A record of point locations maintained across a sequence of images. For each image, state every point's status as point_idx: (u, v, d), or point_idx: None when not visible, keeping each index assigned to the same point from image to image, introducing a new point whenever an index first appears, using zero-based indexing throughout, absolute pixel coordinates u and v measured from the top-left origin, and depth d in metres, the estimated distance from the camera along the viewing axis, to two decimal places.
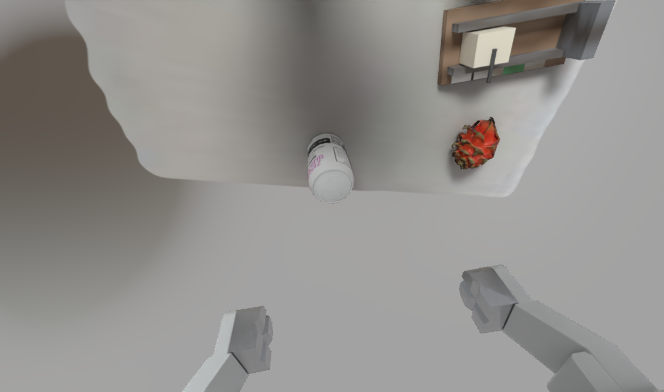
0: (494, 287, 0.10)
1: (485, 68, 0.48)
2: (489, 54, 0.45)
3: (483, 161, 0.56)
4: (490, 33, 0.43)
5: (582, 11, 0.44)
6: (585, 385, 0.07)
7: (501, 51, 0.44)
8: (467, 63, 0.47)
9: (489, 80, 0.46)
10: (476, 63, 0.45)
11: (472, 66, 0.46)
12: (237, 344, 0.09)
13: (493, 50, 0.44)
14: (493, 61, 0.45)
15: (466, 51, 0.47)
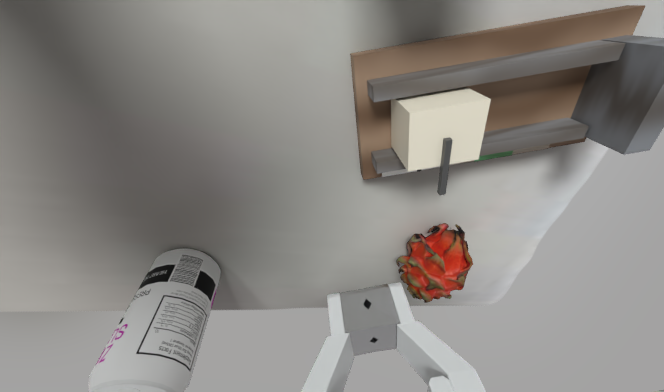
0: (383, 306, 0.10)
1: None
2: (439, 148, 0.21)
3: None
4: (435, 111, 0.20)
5: (632, 60, 0.21)
6: None
7: (462, 141, 0.21)
8: (400, 155, 0.24)
9: (442, 191, 0.23)
10: (413, 164, 0.22)
11: (406, 167, 0.23)
12: (352, 324, 0.09)
13: (445, 142, 0.21)
14: (447, 161, 0.22)
15: (397, 133, 0.24)
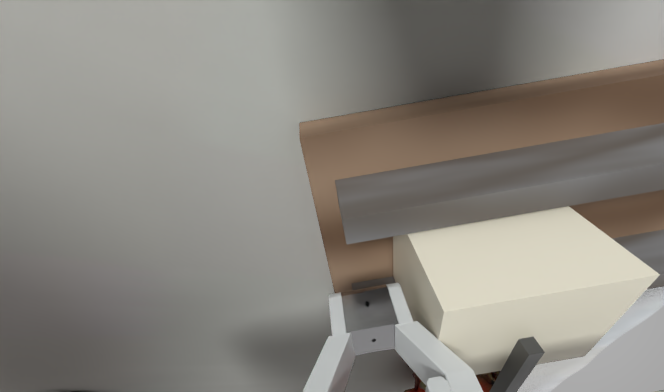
0: (381, 306, 0.10)
1: None
2: (504, 352, 0.09)
3: None
4: (512, 303, 0.07)
5: None
6: None
7: (561, 339, 0.09)
8: None
9: None
10: None
11: None
12: (353, 323, 0.09)
13: (523, 351, 0.09)
14: (521, 376, 0.10)
15: (406, 283, 0.11)
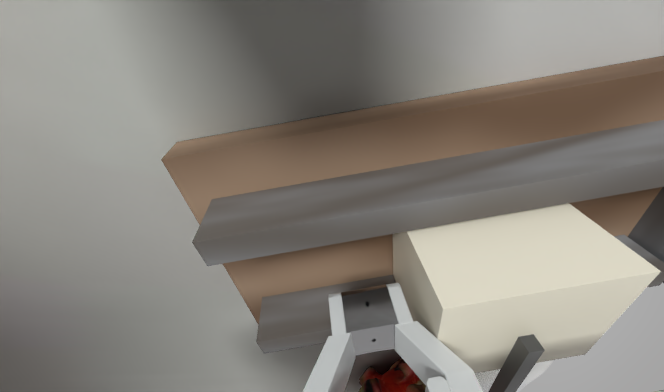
0: (381, 306, 0.10)
1: None
2: (504, 350, 0.09)
3: None
4: (511, 300, 0.07)
5: None
6: None
7: (561, 336, 0.09)
8: None
9: None
10: None
11: None
12: (353, 324, 0.09)
13: (523, 349, 0.09)
14: (521, 374, 0.09)
15: (406, 281, 0.11)
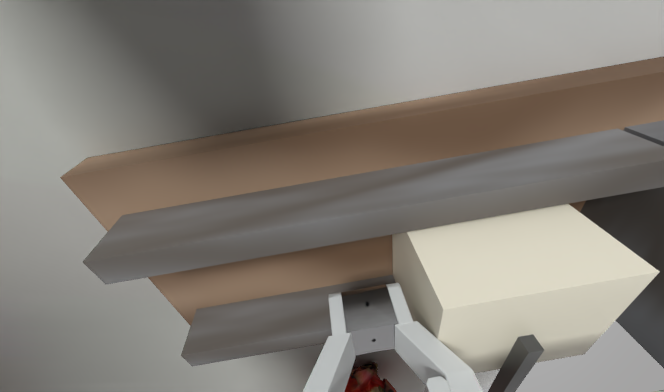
0: (381, 306, 0.10)
1: (307, 342, 0.13)
2: (504, 350, 0.09)
3: None
4: (511, 301, 0.07)
5: None
6: None
7: (560, 336, 0.09)
8: None
9: None
10: None
11: None
12: (353, 324, 0.09)
13: (523, 350, 0.09)
14: (521, 374, 0.10)
15: (406, 281, 0.11)
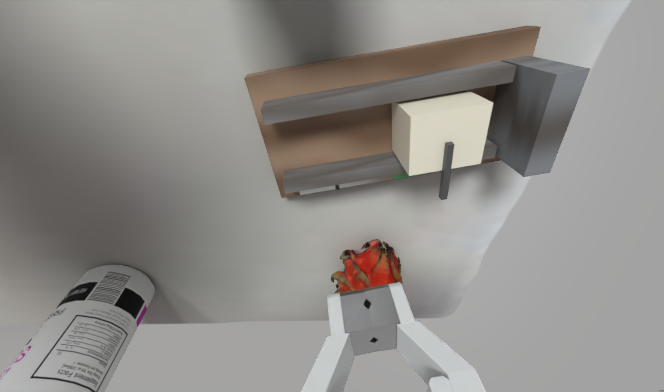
0: (383, 306, 0.10)
1: (346, 180, 0.25)
2: (440, 152, 0.21)
3: None
4: (437, 114, 0.19)
5: (523, 83, 0.21)
6: None
7: (464, 145, 0.21)
8: (401, 160, 0.24)
9: (444, 196, 0.23)
10: (414, 168, 0.22)
11: (407, 171, 0.22)
12: (352, 324, 0.09)
13: (446, 146, 0.20)
14: (448, 165, 0.21)
15: (398, 137, 0.23)
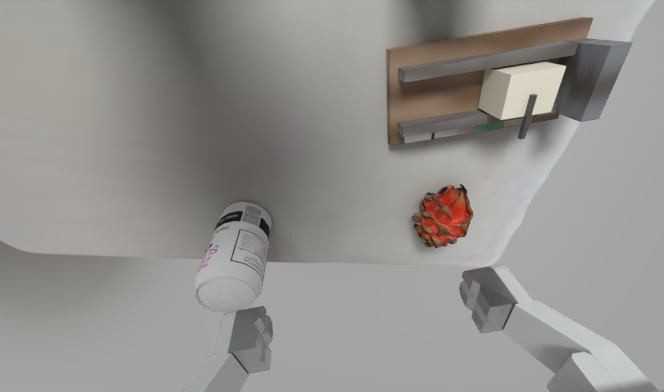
0: (494, 287, 0.10)
1: (448, 127, 0.35)
2: (525, 102, 0.31)
3: (452, 242, 0.42)
4: (528, 73, 0.29)
5: (583, 55, 0.30)
6: (585, 385, 0.07)
7: (542, 97, 0.31)
8: (491, 111, 0.33)
9: (523, 136, 0.33)
10: (505, 114, 0.31)
11: (499, 117, 0.32)
12: (236, 343, 0.09)
13: (531, 97, 0.30)
14: (530, 111, 0.31)
15: (490, 94, 0.33)
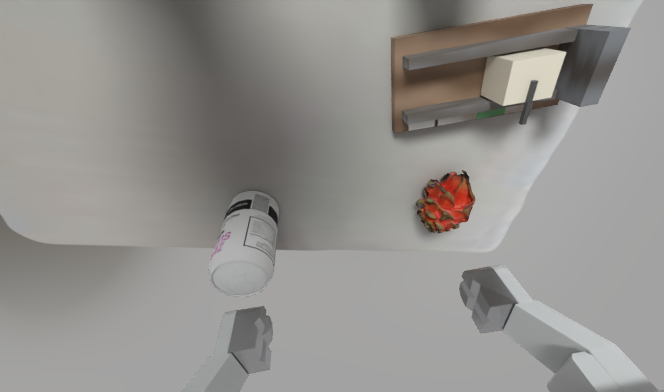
0: (494, 287, 0.10)
1: (451, 114, 0.36)
2: (526, 88, 0.32)
3: (454, 226, 0.43)
4: (530, 60, 0.30)
5: (583, 41, 0.31)
6: (585, 385, 0.07)
7: (543, 83, 0.32)
8: (493, 97, 0.34)
9: (524, 121, 0.34)
10: (507, 100, 0.32)
11: (501, 103, 0.33)
12: (236, 343, 0.09)
13: (532, 83, 0.31)
14: (531, 97, 0.32)
15: (492, 81, 0.34)
